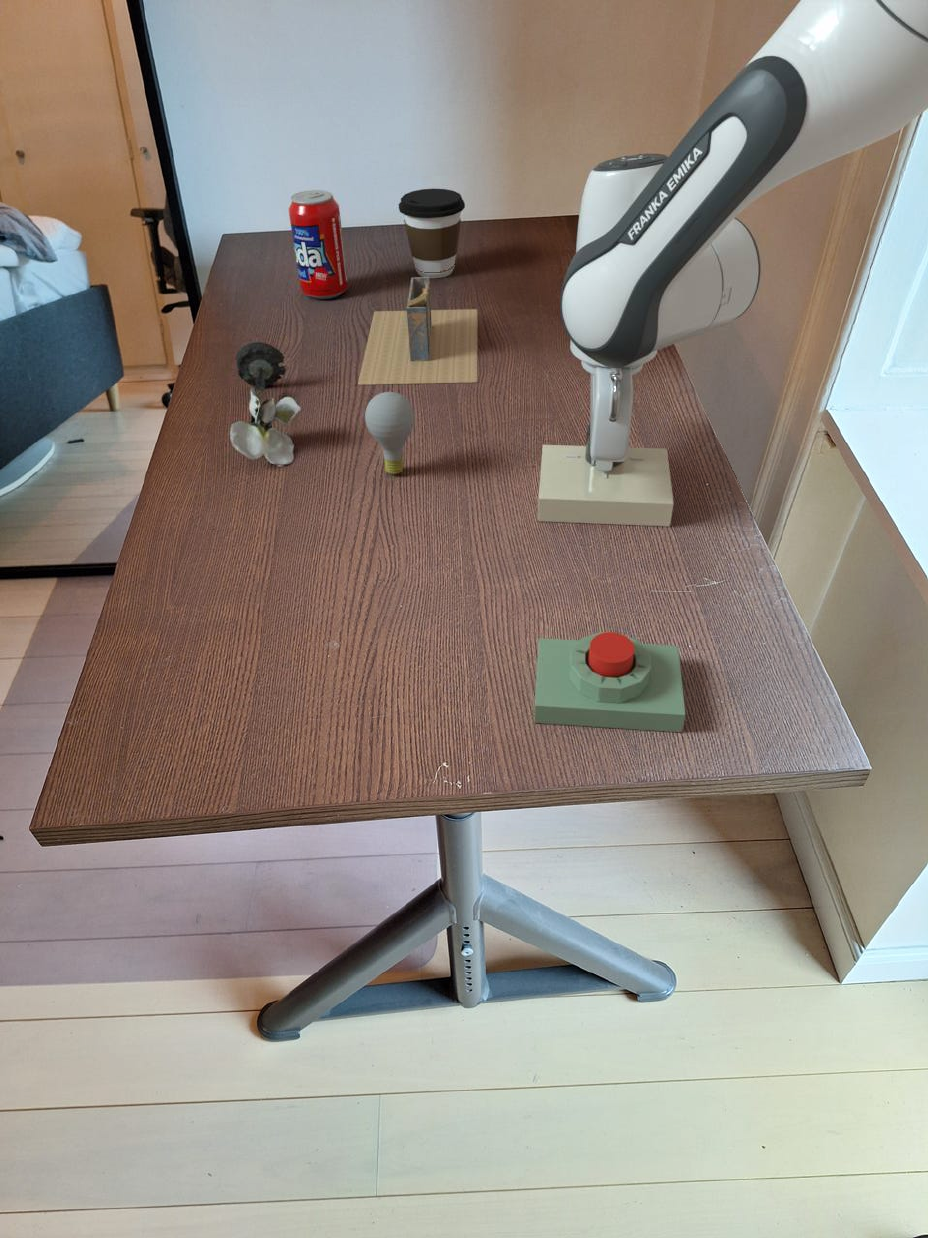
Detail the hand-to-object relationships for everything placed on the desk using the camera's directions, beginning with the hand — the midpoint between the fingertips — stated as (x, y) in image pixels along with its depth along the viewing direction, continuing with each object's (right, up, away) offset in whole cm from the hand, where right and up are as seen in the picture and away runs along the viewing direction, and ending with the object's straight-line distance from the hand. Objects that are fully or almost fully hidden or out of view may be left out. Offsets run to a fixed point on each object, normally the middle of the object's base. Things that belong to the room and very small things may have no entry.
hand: (603, 453), depth 95 cm
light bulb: (-24, -2, +5) cm, 24 cm away
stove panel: (0, -5, 0) cm, 5 cm away
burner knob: (0, 0, 0) cm, 1 cm away
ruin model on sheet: (-22, +22, +31) cm, 44 cm away
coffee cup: (-21, +41, +52) cm, 70 cm away
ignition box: (-3, -25, -22) cm, 33 cm away
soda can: (-39, +36, +47) cm, 70 cm away
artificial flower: (-40, +6, +14) cm, 43 cm away
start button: (-3, -22, -24) cm, 33 cm away
